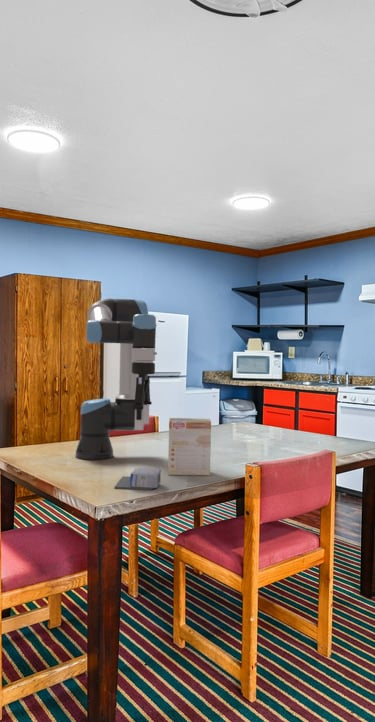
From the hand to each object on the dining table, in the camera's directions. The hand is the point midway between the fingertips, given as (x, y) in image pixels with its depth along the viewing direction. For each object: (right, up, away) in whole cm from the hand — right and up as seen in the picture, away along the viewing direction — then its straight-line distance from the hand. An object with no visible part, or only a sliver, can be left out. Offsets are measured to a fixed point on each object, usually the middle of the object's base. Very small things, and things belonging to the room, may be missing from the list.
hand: (142, 427), depth 172 cm
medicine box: (+6, -16, -3) cm, 17 cm away
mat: (-2, -19, 0) cm, 19 cm away
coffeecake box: (+15, -19, +17) cm, 30 cm away
